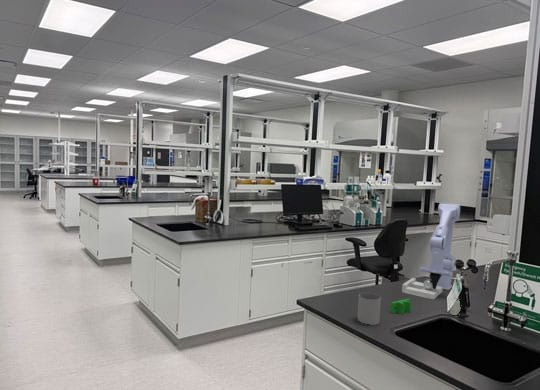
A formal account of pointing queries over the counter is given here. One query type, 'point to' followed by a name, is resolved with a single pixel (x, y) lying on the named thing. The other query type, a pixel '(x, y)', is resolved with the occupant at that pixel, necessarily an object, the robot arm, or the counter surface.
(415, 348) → the counter surface
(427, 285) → the ball
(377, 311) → the cup
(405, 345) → the counter surface
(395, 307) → the pipe clamp
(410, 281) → the deck
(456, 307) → the valve
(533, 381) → the counter surface
